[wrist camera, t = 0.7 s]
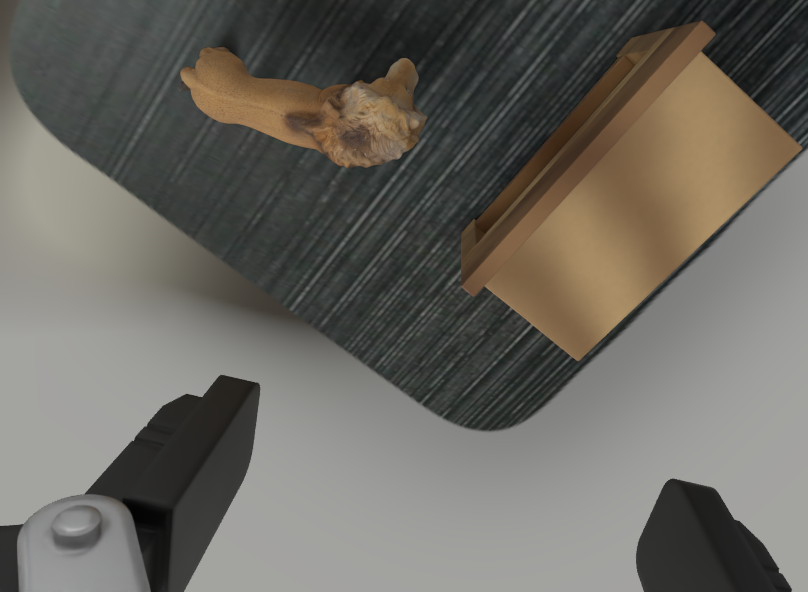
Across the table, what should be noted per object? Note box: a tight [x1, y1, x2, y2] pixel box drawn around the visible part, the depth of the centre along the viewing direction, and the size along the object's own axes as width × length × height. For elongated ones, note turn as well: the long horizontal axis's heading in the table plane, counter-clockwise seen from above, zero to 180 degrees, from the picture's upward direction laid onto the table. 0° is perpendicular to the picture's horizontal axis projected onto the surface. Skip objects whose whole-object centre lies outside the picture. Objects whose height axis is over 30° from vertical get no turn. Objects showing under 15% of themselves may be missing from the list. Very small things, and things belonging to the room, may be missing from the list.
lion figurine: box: [178, 47, 427, 168], centre depth 30 cm, size 15×5×9 cm, turn 85°
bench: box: [461, 21, 802, 361], centre depth 30 cm, size 14×8×10 cm, turn 142°
